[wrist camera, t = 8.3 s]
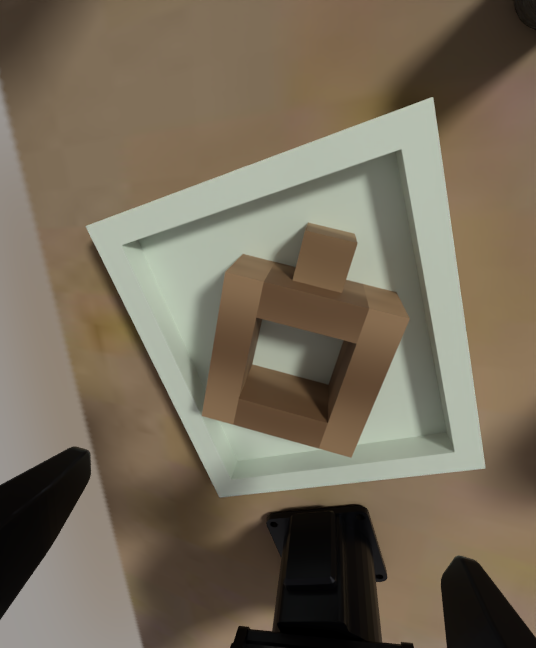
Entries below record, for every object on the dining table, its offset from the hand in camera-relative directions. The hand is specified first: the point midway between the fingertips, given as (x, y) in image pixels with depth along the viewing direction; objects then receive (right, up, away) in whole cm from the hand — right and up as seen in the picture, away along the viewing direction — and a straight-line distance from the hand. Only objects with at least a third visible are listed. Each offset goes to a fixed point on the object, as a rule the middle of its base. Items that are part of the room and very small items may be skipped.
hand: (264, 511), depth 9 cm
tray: (+2, +4, +9) cm, 10 cm away
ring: (+2, +4, +9) cm, 10 cm away
